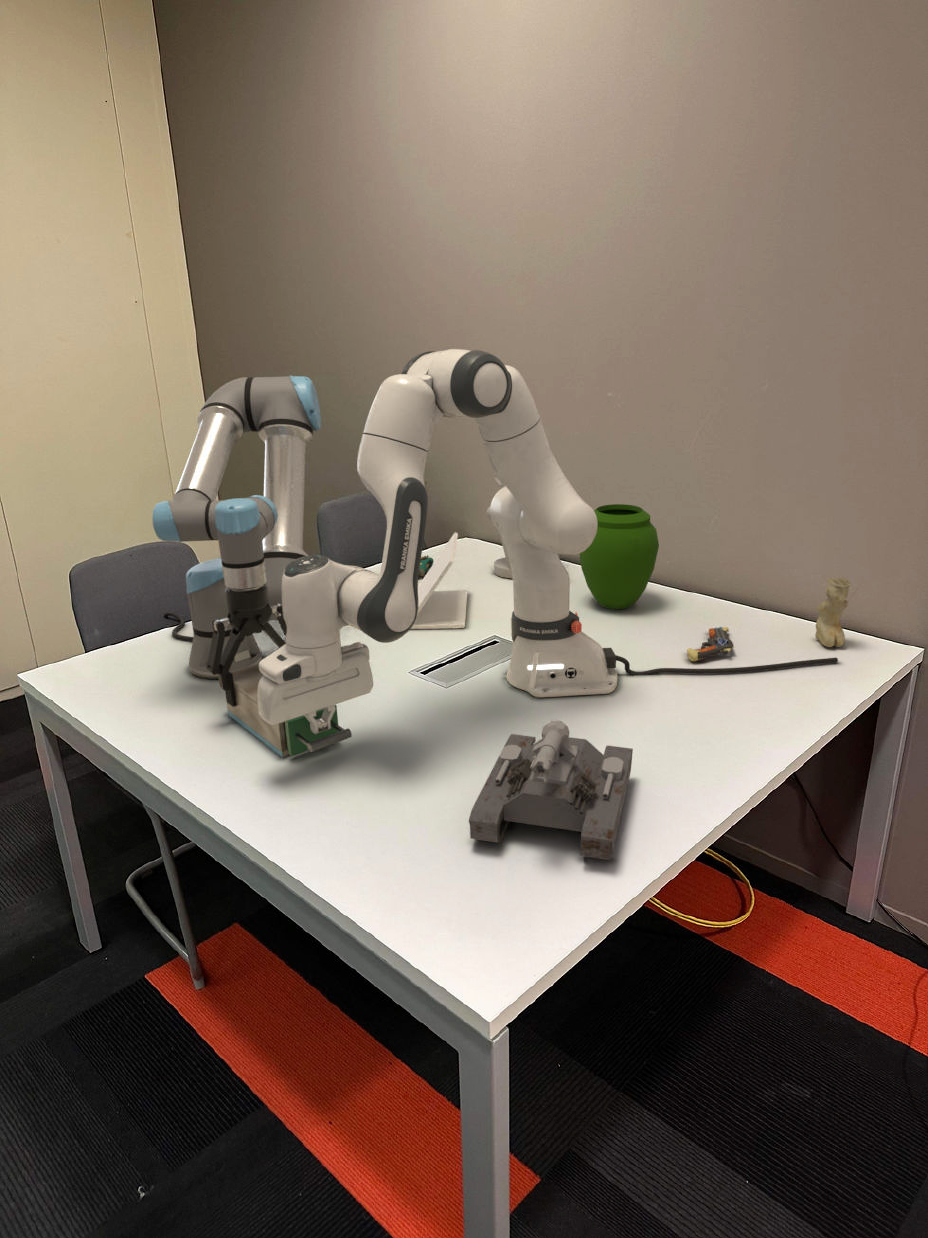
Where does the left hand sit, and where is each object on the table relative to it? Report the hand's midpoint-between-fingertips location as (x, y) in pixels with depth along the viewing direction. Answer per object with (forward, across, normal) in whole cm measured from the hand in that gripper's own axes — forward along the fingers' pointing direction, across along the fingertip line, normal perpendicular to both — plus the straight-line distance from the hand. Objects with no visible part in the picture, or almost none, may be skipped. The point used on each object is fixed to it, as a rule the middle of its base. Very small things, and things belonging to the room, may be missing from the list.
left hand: (259, 694), depth 163 cm
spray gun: (+4, -74, -54) cm, 92 cm away
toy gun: (+4, -88, +39) cm, 96 cm away
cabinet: (+4, 0, +8) cm, 8 cm away
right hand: (-2, 0, +24) cm, 24 cm away
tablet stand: (+4, -58, -22) cm, 62 cm away
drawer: (+3, 0, +14) cm, 14 cm away
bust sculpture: (+4, -94, -27) cm, 98 cm away
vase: (+4, -94, +6) cm, 95 cm away
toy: (+4, -18, +61) cm, 64 cm away
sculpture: (+4, -109, +55) cm, 122 cm away
